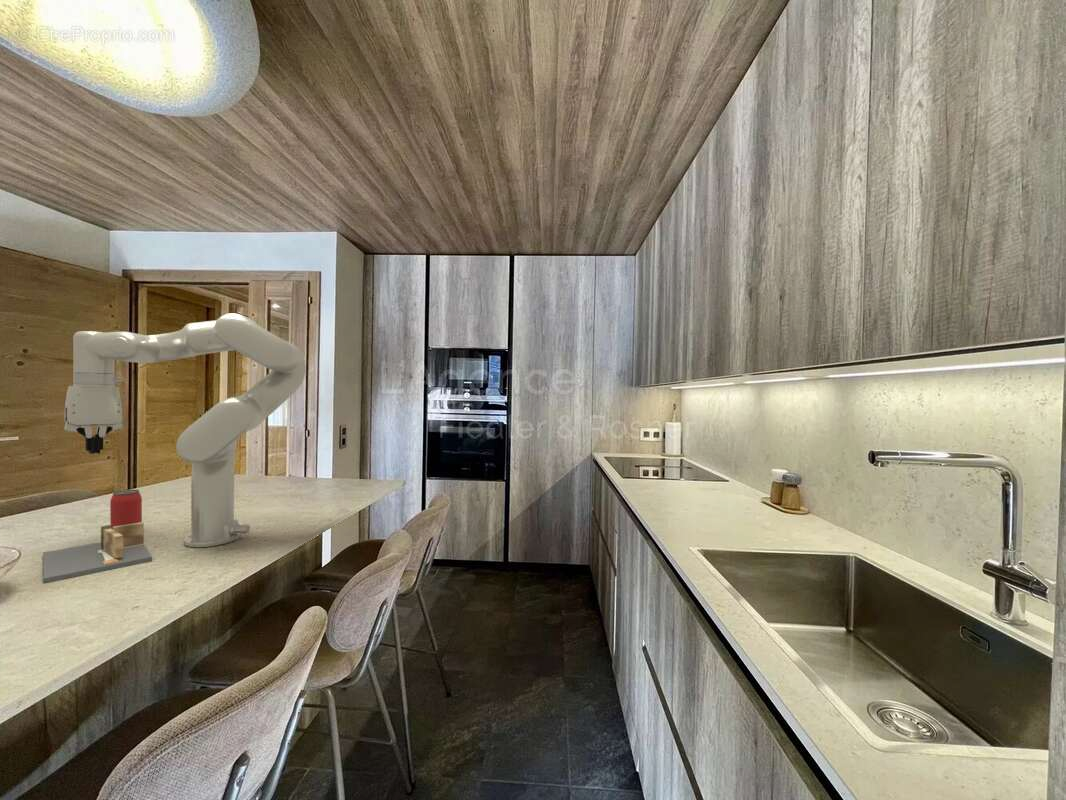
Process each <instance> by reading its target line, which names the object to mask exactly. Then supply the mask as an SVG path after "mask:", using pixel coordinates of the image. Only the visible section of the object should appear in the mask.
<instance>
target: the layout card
mask: <svg viewBox="0 0 1066 800" xmlns="http://www.w3.org/2000/svg"><path fill="white" fill-rule="evenodd" d="M148 562H153V556H152V555H151V553H150V552H149V550H148V548H147V547H146V545H145V544H141V545H135V546H130V547H124V548H123V557H120V558H115V557H114V556H112V555H111V554H109V553H108V552H106V551H105V550H101V541H100V542H95V543H88V544H83V545H77V546H72V547H66V548H65V547H64V548H60V549H56V550H55V549H54V550H49V551H43V552H42V565H43V567H42V568H43V570H42V571H43V584H47V583H50V582H55V581H60V580H66V579H70V578H75V577H76V578H77V577H81V576H86V575H90V574H91V575H92V574H95V573H100V572H103V571H104V572H105V571H109V569H110V570H115V569H119V567H120V568H124V567H123V566H125V567H129V566H133V565H139V564H144V563H148ZM128 565H129V566H128ZM114 568H115V569H114Z"/></svg>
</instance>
